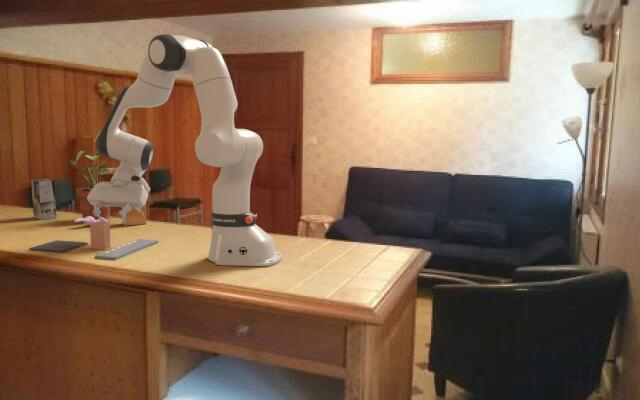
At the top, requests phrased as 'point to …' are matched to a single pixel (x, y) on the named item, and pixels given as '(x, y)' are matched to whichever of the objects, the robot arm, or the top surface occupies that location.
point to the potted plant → (84, 191)
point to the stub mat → (58, 246)
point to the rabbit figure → (92, 220)
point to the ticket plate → (126, 249)
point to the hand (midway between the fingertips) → (108, 215)
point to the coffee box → (44, 199)
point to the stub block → (100, 235)
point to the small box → (135, 216)
